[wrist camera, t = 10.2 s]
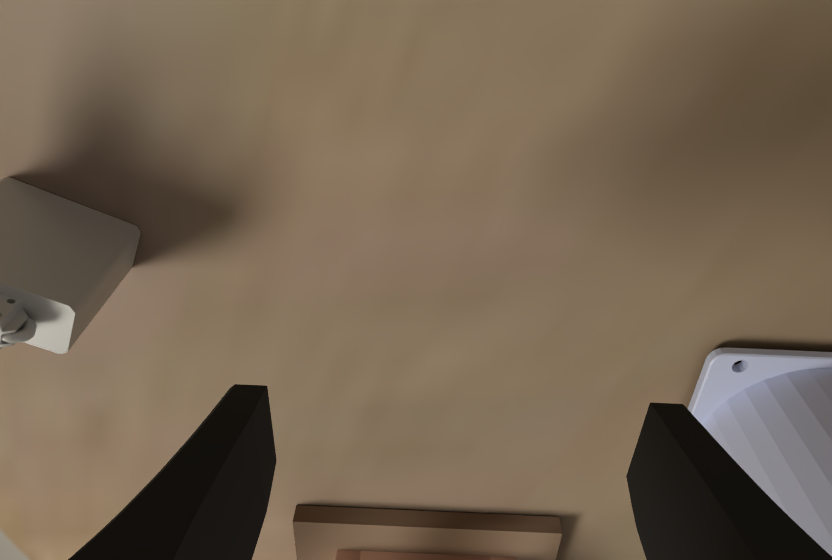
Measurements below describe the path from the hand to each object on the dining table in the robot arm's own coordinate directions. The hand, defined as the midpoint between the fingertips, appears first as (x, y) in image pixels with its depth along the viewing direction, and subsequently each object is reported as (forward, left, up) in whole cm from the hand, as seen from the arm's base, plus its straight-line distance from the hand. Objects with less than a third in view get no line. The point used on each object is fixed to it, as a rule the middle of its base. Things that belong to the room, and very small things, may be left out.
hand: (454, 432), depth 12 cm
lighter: (+13, 0, -9) cm, 16 cm away
